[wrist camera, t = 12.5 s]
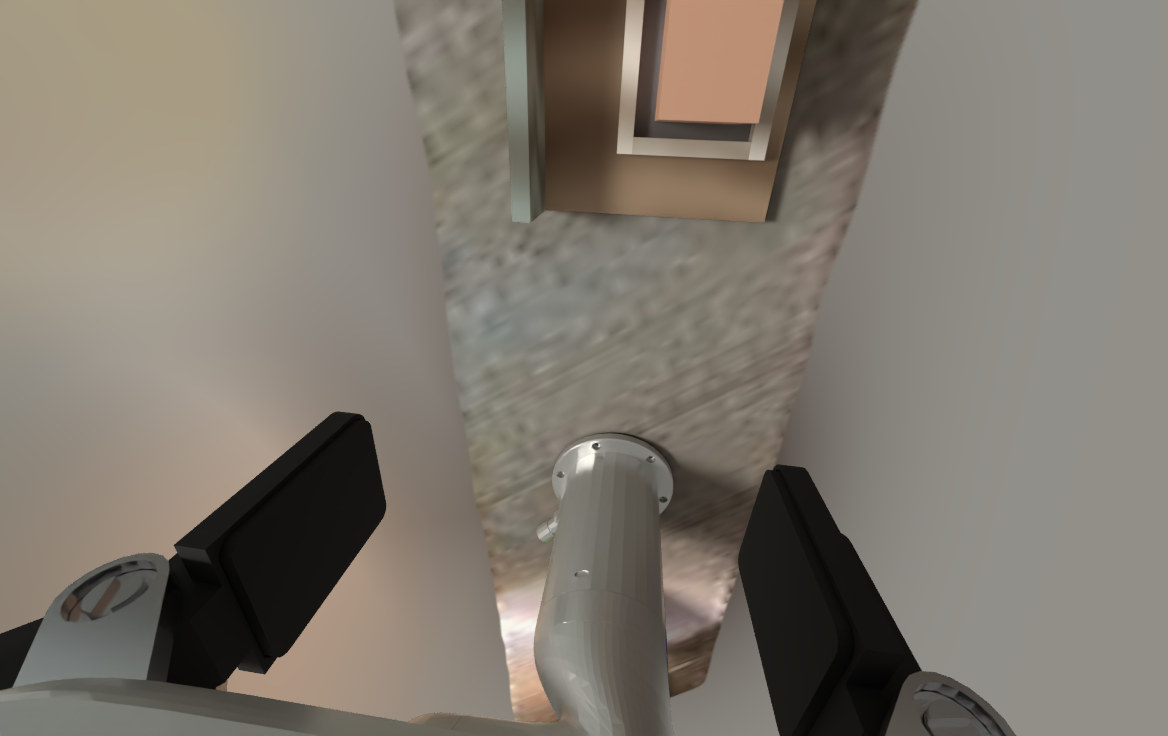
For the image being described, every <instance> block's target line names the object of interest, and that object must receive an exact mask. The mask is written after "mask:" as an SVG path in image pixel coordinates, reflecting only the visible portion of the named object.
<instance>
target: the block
mask: <svg viewBox="0 0 1168 736" xmlns="http://www.w3.org/2000/svg"><path fill="white" fill-rule="evenodd" d="M783 2H784V0H667V4H666V14H665V23H664V33H663V43H662V53H661V63H660V73H659V82H658V92H657V102H656V112H655V121H657V122H682V123H707V124H756V123H759V119H760V114H761V109H762V104H763V99H764V95H765V90H766V85H767V80H768V75H769V70H770V65H771V61H772V56H773V51H774V46H775V41H776V36H777V31H778V27H779V22H780V17H781V12H782V7H783Z"/></svg>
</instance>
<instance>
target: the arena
mask: <svg viewBox="0 0 1168 736" xmlns="http://www.w3.org/2000/svg"><path fill="white" fill-rule="evenodd" d="M816 1H817V0H784V2H783V7H782V12H781V17H780V22H779V27H778V31H777V36H776V41H775V46H774V51H773V56H772V61H771V65H770V70H769V75H768V80H767V85H766V90H765V95H764V99H763V104H762V109H761V114H760V119H759V123H756V124H707V123H682V122H657V121H655V112H656V102H657V92H658V82H659V73H660V63H661V53H662V43H663V33H664V23H665V14H666V4H667V0H502V9H503V31H504V53H505V75H506V97H507V119H508V141H509V163H510V185H511V207H512V222H526V223H531V222H532V221H533V220H534V219H536V218H537V217H538V216H539V215H540V214H541V213H542V212H544V211H545V210H556V211H573V212H591V213H608V214H625V215H642V216H659V217H677V218H694V219H711V220H728V221H745V222H762V223H764V221H765V217H766V213H767V209H768V204H769V200H770V196H771V192H772V188H773V183H774V179H775V175H776V171H777V166H778V162H779V158H780V154H781V149H782V145H783V141H784V137H785V132H786V128H787V124H788V120H789V116H790V111H791V107H792V103H793V99H794V94H795V90H796V86H797V82H798V77H799V73H800V69H801V65H802V60H803V56H804V52H805V48H806V44H807V39H808V35H809V31H810V27H811V22H812V18H813V14H814V10H815V5H816Z"/></svg>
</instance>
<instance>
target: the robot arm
mask: <svg viewBox="0 0 1168 736" xmlns="http://www.w3.org/2000/svg"><path fill="white" fill-rule="evenodd" d="M552 483H553V489H554V492H555V495H556V497H557V498H558V500H559V502H560V504H559V509H557V510H556V511H555V513H554V517H552V518H550V519H548V520H547V521H546V522H544V523H543V524H541V525H540V526H539V527H538V528H537V535H538V537H539V539H540V540H542V541H543V542H548V541H550V540H552V539H553V538H554V537H555V539H554V544H553V549H552V554H551V558H550V563H549V568H548V573H547V577H546V582H545V587H544V592H543V597H542V601H541V606H540V611H539V615H538V619H537V624H536V629H535V636H534V657H535V664H536V668H537V672H538V675H539V678H540V681H541V683H542V686H543V688H544V691H545V693H546V695H547V697H548V699H549V701H550V703H551V705H552V707H553V709H554V711H555V713H556V715H557V717H558V719H559V721H558V722H555V723H539V722H534V723H528V722H520V721H512V720H504V719H497V718H488V717H482V716H474V715H464V714H455V713H429V714H424V715H421V716H418V717H416V718H413V719H411V720H410V721H408V722H403V721H398V720H392V719H386V718H381V717H375V716H369V715H363V714H357V713H352V712H345V711H340V710H333V709H328V708H322V707H316V706H311V705H305V704H299V703H293V702H287V701H281V700H275V699H270V698H263V697H258V696H252V695H246V694H239V693H233V692H227V679H228V678H229V676H230V675H231V674H232V673H233V671H234V670H235V669H236V668H237V667H238V668H239V670H243V671H248V672H254V673H260V674H266V672H267V671H268V669H269V668H270V667H271V665H272V664H273V662H274V661H275V660H276V658H277V657H282V656H283V655H285V654H286V653H287V652H288V651H289V649H290V648H291V647H292V645H293V644H294V643H295V641H296V640H297V638H298V637H299V636H300V634H301V633H302V631H303V630H304V629H305V627H306V626H307V624H308V623H309V622H310V620H311V619H312V617H313V616H314V615H315V613H316V612H317V610H318V609H319V608H320V606H321V605H322V603H323V602H324V600H325V599H326V597H327V596H328V595H329V593H330V592H331V591H332V589H333V588H334V586H335V585H336V584H337V582H338V581H339V579H340V578H341V577H342V575H343V574H344V572H345V571H346V570H347V568H348V567H349V565H350V564H351V562H352V561H353V560H354V558H355V557H356V555H357V554H358V553H359V551H360V550H361V548H362V547H363V546H364V544H365V543H366V541H367V540H368V539H369V537H370V536H371V534H372V533H373V532H374V530H375V529H376V527H377V526H378V525H379V523H380V522H381V520H382V519H383V517H384V514H385V511H386V500H385V495H384V490H383V485H382V480H381V475H380V470H379V465H378V460H377V454H376V449H375V444H374V440H373V434H372V429H371V425H370V423H369V422H368V421H365V418H364V417H363V416H362V415H360V414H355V413H346V412H334V413H332V414H331V415H330V416H328V417H327V418H326V419H325V420H324V421H322V422H321V423H320V424H319V425H318V426H316V427H315V428H314V429H313V430H312V431H310V432H309V433H308V434H307V435H306V436H304V437H303V438H302V439H301V440H300V441H298V442H297V443H296V444H295V445H294V446H292V447H291V448H290V449H289V450H288V451H286V452H285V453H284V454H283V455H282V456H280V457H279V458H278V459H277V460H276V461H274V462H273V463H272V464H271V465H270V466H268V467H267V468H266V469H265V470H263V471H262V472H261V473H260V474H259V475H257V476H256V477H255V478H254V479H253V480H251V481H250V482H249V483H248V484H247V485H245V486H244V487H243V488H242V489H241V490H239V491H238V492H237V493H236V494H235V495H233V496H232V497H231V498H230V499H229V500H228V501H226V502H225V503H224V504H223V505H221V506H220V507H219V508H218V509H217V510H215V511H214V512H213V513H212V514H211V515H209V516H208V517H207V518H206V519H205V520H203V521H202V522H201V523H200V524H199V525H197V526H196V527H195V528H194V529H193V530H191V531H190V532H189V533H188V534H187V535H185V536H184V537H183V538H182V539H181V540H179V541H178V542H177V543H176V544H175V545H174V547H175V549H176V551H177V554H176V555H174V556H173V557H172V558H171V559H170V560H169V561H168V560H167V559H166V558H165V557H164V556H163V555H159V554H155V553H143V554H142V553H141V554H135V555H131V556H127V557H122V558H119V559H117V560H114V561H112V562H109V563H106V564H104V565H102V566H100V567H98V568H96V569H94V570H92V571H90V572H88V573H87V574H85V575H84V576H82V577H81V578H79V579H78V580H76V581H75V582H73V583H72V584H70V585H69V586H68V587H67V588H66V589H65V590H64V591H63V592H62V593H61V594H60V595H58V596H57V597H56V598H55V600H54V601H53V603H52V604H51V606H50V607H49V609H48V610H47V612H46V614H45V616H44V618H41V619H39V620H36V621H33V622H30V623H28V624H25V625H22V626H20V627H17V628H15V629H12V630H9V631H7V632H4V633H1V634H0V736H674V732H673V725H672V716H671V706H670V696H669V683H668V669H667V652H666V633H665V613H664V593H663V573H662V553H661V533H660V514H661V513H662V512H663V511H664V510H665V509H666V508H667V506H668V505H669V503H670V501H671V499H672V495H673V476H672V471H671V469H670V467H669V464H668V462H667V461H666V460H665V458H664V457H663V456H662V454H660V453H659V452H658V451H657V450H656V449H655V448H654V447H652V446H650V445H649V444H647V443H646V442H644V441H641V440H639V439H637V438H634V437H631V436H626V435H622V434H612V433H606V434H596V435H591V436H587V437H584V438H582V439H580V440H577V441H575V442H574V443H572V444H571V445H569V446H568V447H567V448H566V449H565V450H564V451H563V452H562V453H561V454H560V456H559V457H558V459H557V461H556V464H555V467H554V471H553V476H552ZM738 564H739V571H740V575H741V579H742V583H743V587H744V591H745V595H746V599H747V603H748V608H749V612H750V615H751V620H752V624H753V628H754V632H755V637H756V640H757V645H758V649H759V653H760V657H761V661H762V665H763V669H764V674H765V678H766V681H767V686H768V690H769V694H770V698H771V702H772V707H773V710H774V715H775V719H776V723H777V727H778V731H779V734H780V736H1016V735H1015V733H1014V732H1013V731H1012V729H1011V728H1010V726H1009V725H1008V724H1007V722H1006V721H1005V719H1004V718H1003V717H1002V716H1001V715H1000V714H999V713H998V712H997V711H996V710H995V709H994V708H993V707H992V706H991V705H990V704H989V703H988V702H987V701H985V700H984V699H983V698H981V697H980V696H979V695H977V694H976V693H975V692H974V691H973V690H971V689H970V688H968V687H967V686H965V685H963V684H961V683H959V682H958V681H956V680H954V679H952V678H950V677H947V676H944V675H941V674H938V673H936V672H926V671H925V672H924V671H922V670H921V669H920V667H919V665H918V663H917V661H916V660H915V658H914V656H913V654H912V652H911V650H910V649H909V647H908V645H907V643H906V641H905V639H904V638H903V636H902V634H901V632H900V630H899V629H898V627H897V625H896V623H895V621H894V619H893V618H892V616H891V614H890V612H889V610H888V609H887V607H886V605H885V603H884V601H883V600H882V598H881V596H880V594H879V593H878V591H877V589H876V587H875V585H874V583H873V581H872V580H871V578H870V576H869V574H868V572H867V570H866V569H865V567H864V565H863V563H862V561H861V560H860V558H859V556H858V554H857V552H856V551H855V549H854V547H853V545H852V543H851V542H850V541H849V539H848V538H847V537H846V536H844V535H843V534H841V533H840V531H839V529H838V527H837V525H836V523H835V522H834V520H833V518H832V516H831V514H830V512H829V510H828V509H827V507H826V505H825V503H824V501H823V499H822V497H821V495H820V494H819V492H818V490H817V488H816V486H815V484H814V482H813V481H812V479H811V477H810V475H809V473H808V472H807V470H806V469H805V468H803V467H795V466H787V465H776V466H775V467H774V469H773V470H767V471H766V472H765V474H764V477H763V480H762V483H761V486H760V489H759V492H758V495H757V499H756V502H755V505H754V508H753V511H752V514H751V517H750V520H749V523H748V527H747V530H746V533H745V536H744V539H743V542H742V545H741V548H740V552H739V558H738Z"/></svg>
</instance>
